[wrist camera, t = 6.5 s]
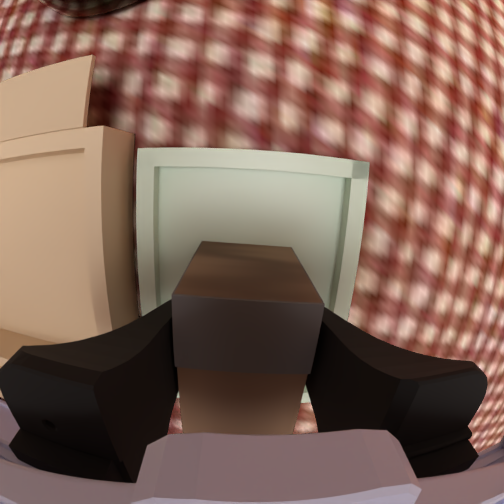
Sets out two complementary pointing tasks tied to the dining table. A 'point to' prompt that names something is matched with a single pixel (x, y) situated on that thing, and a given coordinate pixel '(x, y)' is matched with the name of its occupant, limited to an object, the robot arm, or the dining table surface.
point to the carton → (62, 213)
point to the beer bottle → (85, 6)
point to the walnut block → (244, 338)
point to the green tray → (249, 214)
